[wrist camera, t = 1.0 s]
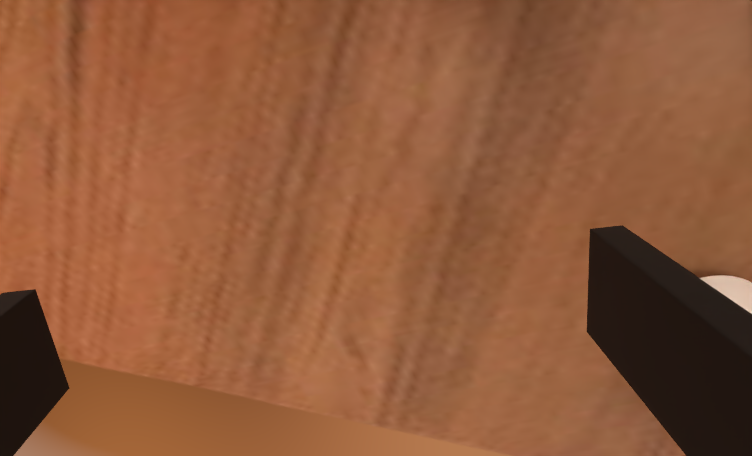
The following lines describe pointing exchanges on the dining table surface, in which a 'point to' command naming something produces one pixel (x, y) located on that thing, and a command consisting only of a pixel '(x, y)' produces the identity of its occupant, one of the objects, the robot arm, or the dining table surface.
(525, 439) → the dining table surface
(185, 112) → the dining table surface
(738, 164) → the dining table surface
